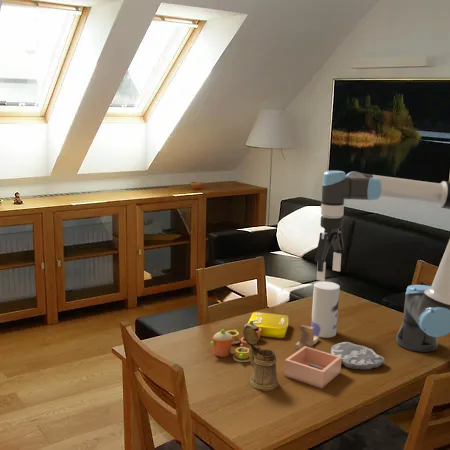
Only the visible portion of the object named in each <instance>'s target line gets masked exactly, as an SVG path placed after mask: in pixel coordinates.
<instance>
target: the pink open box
mask: <svg viewBox="0 0 450 450" xmlns="http://www.w3.org/2000/svg"><path fill="white" fill-rule="evenodd" d="M341 360H342V357H340V356H336V355H333V354H331V352H326V351H322V350H320V349H316V348H314V347H313V348H310V347H306V346H304V347H303V348H301V349H300V350H299V349H297V351H296V352H294V353H293V354H291V355H290V356H289V357H287V358H285V359H284V371H283V372H284V373H283V376H284V377H286V378H289V379H292V380H295V381H298V382H302V383H305V384H308V385H310V386H312V387H317V388H319V389H323V388H325V386H327V385H328V384H329V383H331V381H333V380H334V379H335V378H336V377H337V376H338V375H340V374H341V371H342V370H341V368H342V364H341Z"/></svg>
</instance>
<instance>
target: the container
mask: <svg viewBox="0 0 450 450" xmlns="http://www.w3.org/2000/svg"><path fill="white" fill-rule="evenodd" d="M340 287H341V286H340V285H339V284H338V283H335V282H332V281H317V282H314V284H313V289H312V290H313V293H312V306H311V308H312V309H311V323H310V327H314V336H317V337H319V338H327V339H329V338H334V337H335V336H336V335H337V327H338V316H339V315H338V314H339V313H338V312H339V300H340V289H341V288H340Z"/></svg>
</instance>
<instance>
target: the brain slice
mask: <svg viewBox="0 0 450 450" xmlns="http://www.w3.org/2000/svg"><path fill="white" fill-rule="evenodd" d="M330 354H333V355H336V356H340V357H342V360H341V365H344V367H346V368H349V369H353V370H372V369H373V368H379V367H380V366H382V365H383V364H384V363H385V362H386V358H385V357H383V356H382V355H379V354H377V353H376V352H375V351H374V350H373V349H372V348H369V347H367V346H365V345H360V344H355V343H353V342H350V341H343V342H339V343H335V344H333V345H331V348H330Z"/></svg>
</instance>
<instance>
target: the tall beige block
mask: <svg viewBox="0 0 450 450" xmlns="http://www.w3.org/2000/svg"><path fill="white" fill-rule="evenodd" d="M314 336H315V335H314V327H311V325H310V326H309V325H307V324H301V325H300V326H299V340H298V342H299V349H298V350H300V349H301V348H303V347H304V346H306V347H310V348H313V349H314V345H313V339H314Z"/></svg>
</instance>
